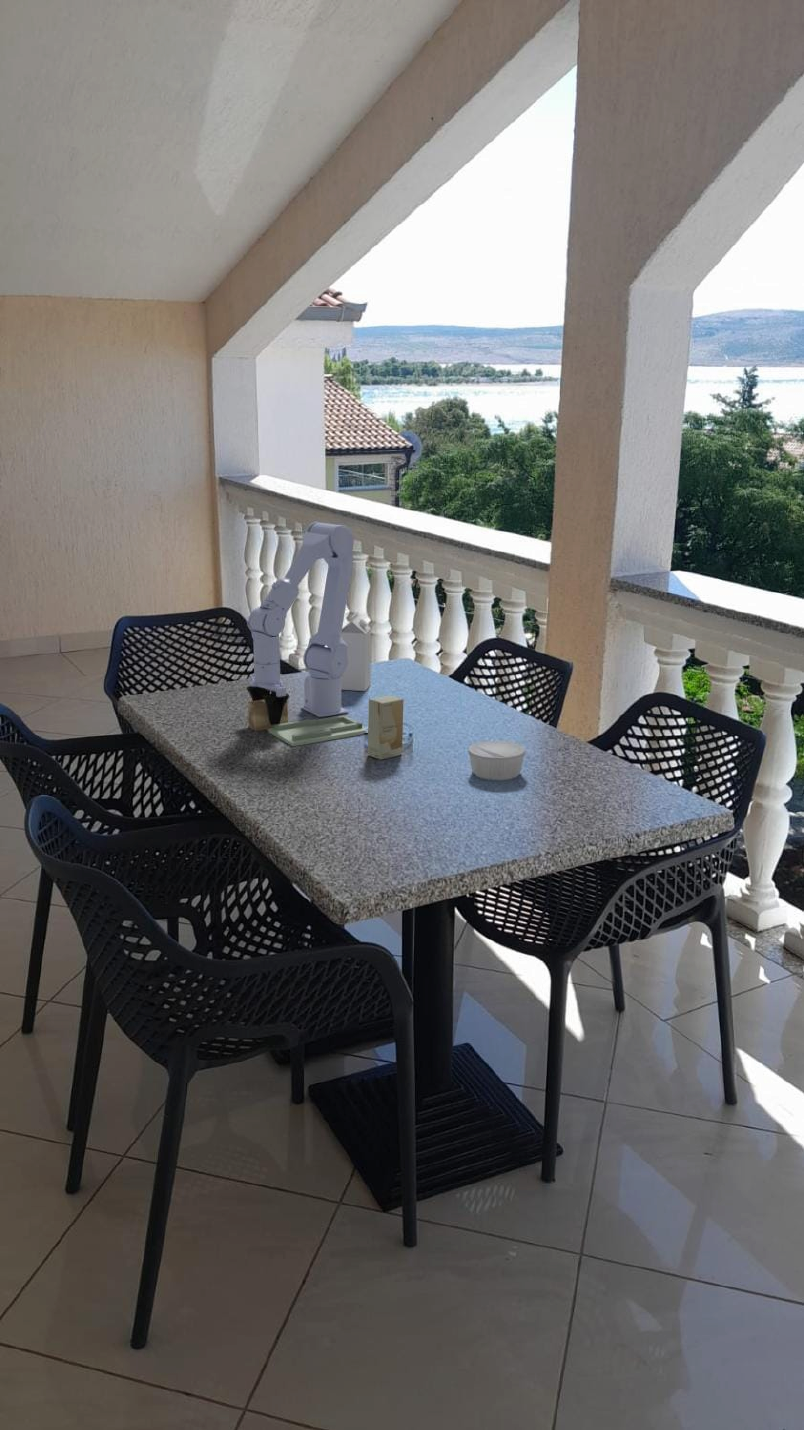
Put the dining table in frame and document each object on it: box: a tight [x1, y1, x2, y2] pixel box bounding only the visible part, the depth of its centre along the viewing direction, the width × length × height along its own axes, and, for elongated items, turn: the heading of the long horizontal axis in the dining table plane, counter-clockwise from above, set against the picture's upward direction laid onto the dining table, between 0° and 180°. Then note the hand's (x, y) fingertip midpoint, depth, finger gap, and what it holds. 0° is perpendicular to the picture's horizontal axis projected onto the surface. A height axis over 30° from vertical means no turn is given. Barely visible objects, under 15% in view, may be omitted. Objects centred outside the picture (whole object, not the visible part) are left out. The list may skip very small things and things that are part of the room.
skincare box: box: [367, 694, 404, 761], centre depth 230 cm, size 6×4×12 cm
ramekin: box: [468, 740, 526, 782], centre depth 221 cm, size 11×11×5 cm
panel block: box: [247, 700, 289, 732], centre depth 250 cm, size 4×8×6 cm, turn 122°
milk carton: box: [341, 611, 372, 692], centre depth 282 cm, size 7×7×19 cm
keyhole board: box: [267, 714, 368, 747], centre depth 246 cm, size 12×19×2 cm, turn 122°
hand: (268, 720), depth 250 cm, fingers open, 6 cm apart
